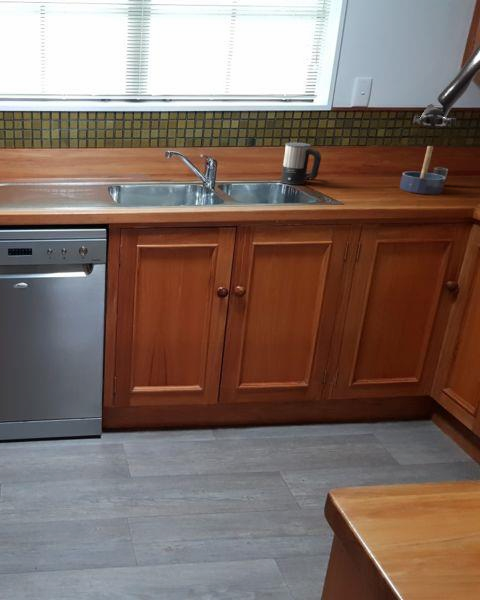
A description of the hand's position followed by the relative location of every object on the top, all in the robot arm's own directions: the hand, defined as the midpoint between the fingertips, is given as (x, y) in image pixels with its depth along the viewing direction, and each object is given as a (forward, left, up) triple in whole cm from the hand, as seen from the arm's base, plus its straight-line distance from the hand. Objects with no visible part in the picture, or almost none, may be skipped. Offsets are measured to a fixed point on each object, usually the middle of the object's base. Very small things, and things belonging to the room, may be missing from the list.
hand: (434, 122), depth 228 cm
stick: (0, +11, -23) cm, 26 cm away
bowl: (0, +11, -24) cm, 26 cm away
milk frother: (+43, +18, -24) cm, 53 cm away
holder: (-6, -2, -24) cm, 25 cm away
